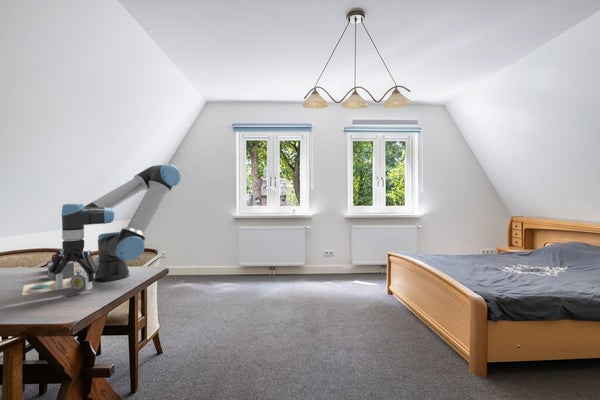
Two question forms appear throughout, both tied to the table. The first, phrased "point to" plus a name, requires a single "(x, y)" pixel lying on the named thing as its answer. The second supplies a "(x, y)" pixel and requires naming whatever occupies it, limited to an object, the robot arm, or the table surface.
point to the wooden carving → (53, 259)
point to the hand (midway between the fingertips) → (74, 289)
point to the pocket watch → (78, 280)
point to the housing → (67, 270)
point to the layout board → (45, 287)
